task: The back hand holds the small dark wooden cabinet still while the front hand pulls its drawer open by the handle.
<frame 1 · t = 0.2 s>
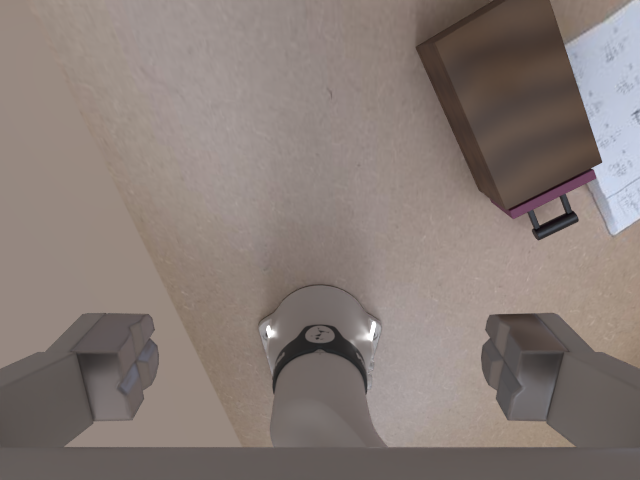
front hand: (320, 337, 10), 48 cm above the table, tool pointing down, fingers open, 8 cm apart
drawer: (521, 144, 51), point 5 cm above the table, slide at 0.8 cm
cabinet: (490, 100, 54), on the table
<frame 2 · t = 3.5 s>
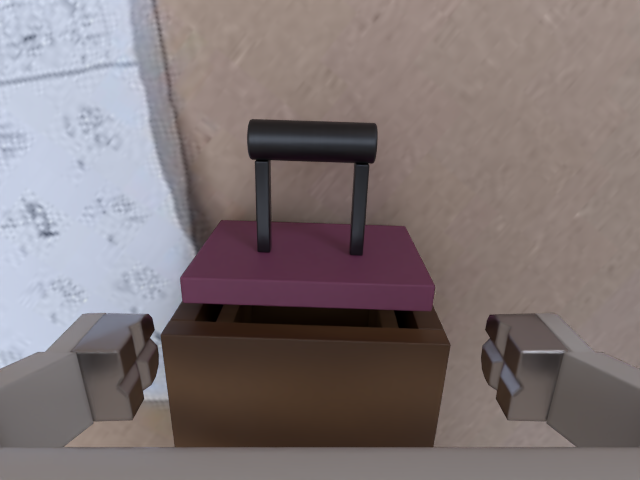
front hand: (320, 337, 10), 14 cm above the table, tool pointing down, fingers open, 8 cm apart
drawer: (308, 363, 23), point 5 cm above the table, slide at 0.8 cm
cabinet: (309, 388, 29), on the table, touching back hand
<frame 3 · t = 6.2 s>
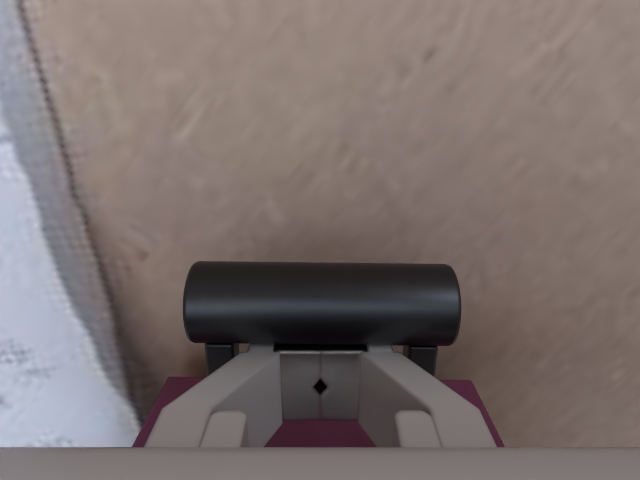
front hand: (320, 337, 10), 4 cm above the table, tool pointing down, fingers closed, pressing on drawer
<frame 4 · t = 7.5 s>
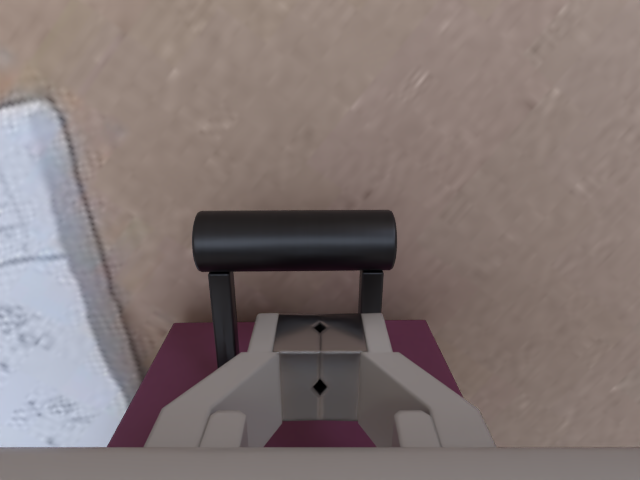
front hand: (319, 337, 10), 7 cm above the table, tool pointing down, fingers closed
when the back hand's fingers open (4 cm above the table, at t = 8.7 s): cabinet stays where it is, on the table.
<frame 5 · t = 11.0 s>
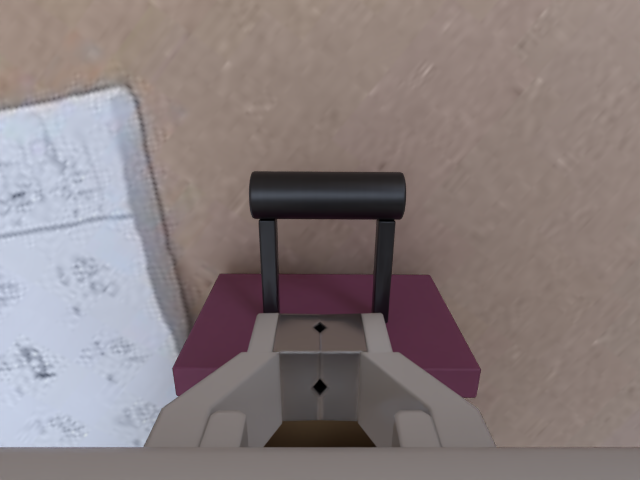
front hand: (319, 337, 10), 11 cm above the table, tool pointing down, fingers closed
drawer: (324, 437, 20), point 5 cm above the table, slide at 6.2 cm
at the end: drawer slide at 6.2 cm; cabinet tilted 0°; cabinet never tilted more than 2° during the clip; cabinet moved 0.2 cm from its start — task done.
